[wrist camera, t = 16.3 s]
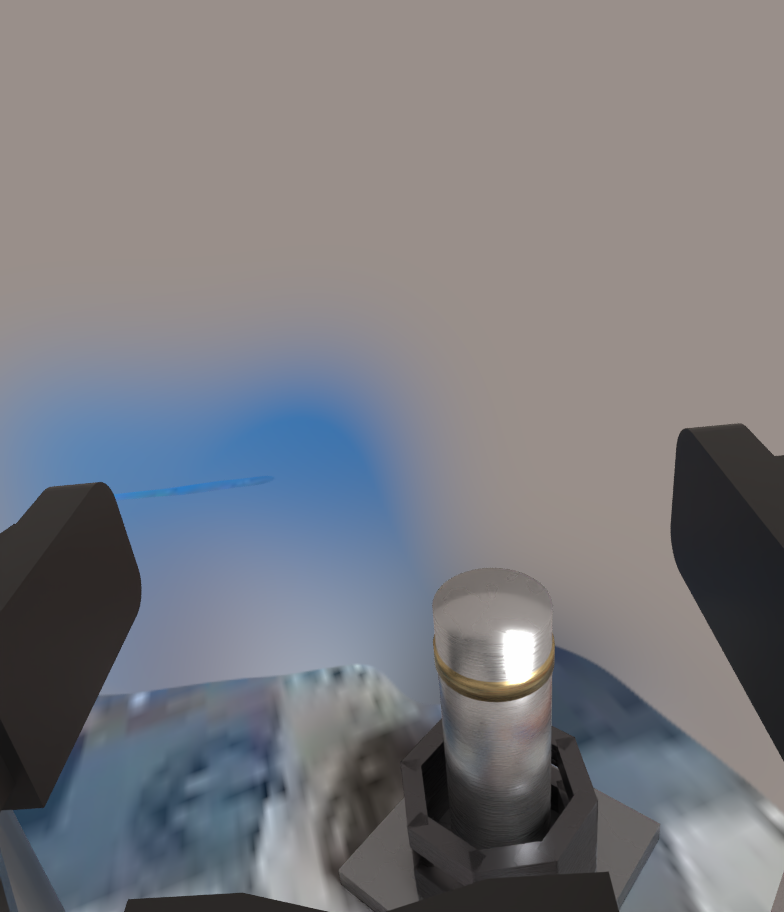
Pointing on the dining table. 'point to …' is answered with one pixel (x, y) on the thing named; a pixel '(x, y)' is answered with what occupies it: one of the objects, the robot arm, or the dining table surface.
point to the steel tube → (496, 704)
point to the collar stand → (459, 864)
